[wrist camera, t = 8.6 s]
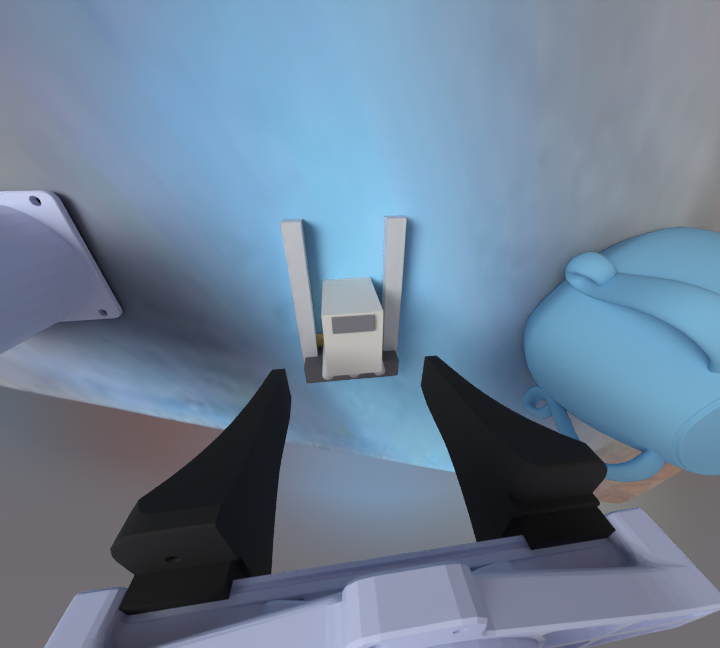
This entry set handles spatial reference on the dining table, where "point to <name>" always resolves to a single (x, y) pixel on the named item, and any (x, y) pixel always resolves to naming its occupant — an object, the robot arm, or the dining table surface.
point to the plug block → (352, 326)
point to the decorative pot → (635, 350)
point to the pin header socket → (304, 304)
